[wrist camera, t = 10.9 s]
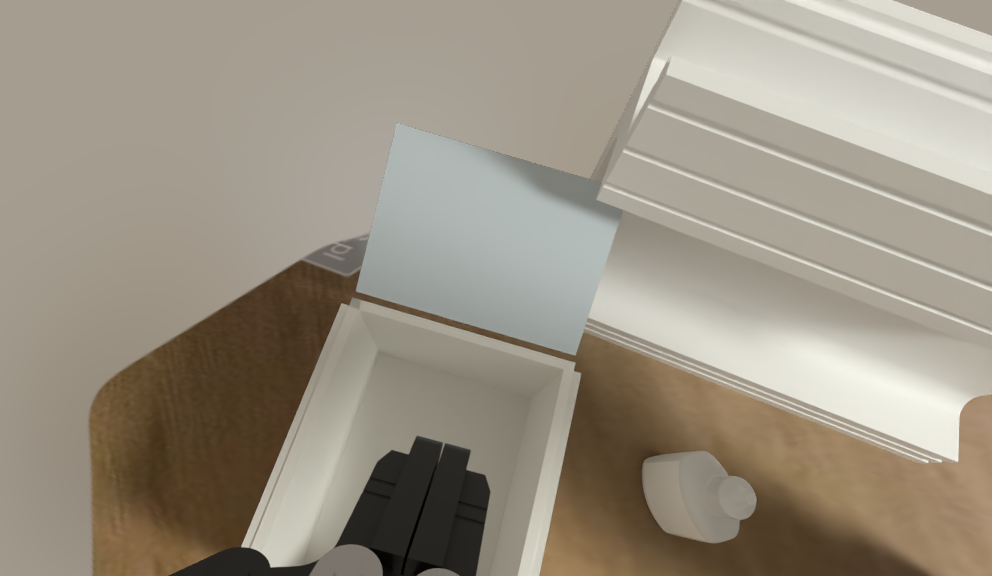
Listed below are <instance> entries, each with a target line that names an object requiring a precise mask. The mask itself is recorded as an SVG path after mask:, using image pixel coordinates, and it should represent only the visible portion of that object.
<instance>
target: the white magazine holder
mask: <svg viewBox="0 0 992 576" xmlns="http://www.w3.org/2000/svg"><path fill="white" fill-rule="evenodd" d="M590 180H594V181H597V182H601V183H602V184H601V187H600V190H599V193H598V196H597V198H596V200H598V201H601V202H603V203H606V204H609V205H611V206H614V207H617V208H619V209H622V210H623V212H622V215H621V218H620V221H619V224H618V227H617V230H616V233H615V236H614V239H613V243H612V246H611V249H610V252H609V255H608V258H607V261H606V264H605V267H604V270H603V273H602V276H601V279H600V282H599V285H598V288H597V291H596V295H595V298H594V301H593V304H592V307H591V310H590V313H589V316H588V319H587V322H586V325H585V328H584V331H583V332H585V333H588V334H591V335H593V336H596V337H598V338H601V339H603V340H606V341H608V342H611V343H613V344H616V345H619V346H621V347H624V348H626V349H629V350H631V351H634V352H636V353H639V354H642V355H644V356H647V357H649V358H652V359H654V360H657V361H659V362H662V363H664V364H667V365H670V366H672V367H675V368H677V369H680V370H682V371H685V372H687V373H690V374H693V375H695V376H698V377H700V378H703V379H705V380H708V381H710V382H713V383H715V384H718V385H721V386H723V387H726V388H728V389H731V390H733V391H736V392H738V393H741V394H744V395H746V396H749V397H751V398H754V399H756V400H759V401H761V402H764V403H767V404H769V405H772V406H774V407H777V408H779V409H782V410H784V411H787V412H789V413H792V414H795V415H797V416H800V417H802V418H805V419H807V420H810V421H812V422H815V423H818V424H820V425H823V426H825V427H828V428H830V429H833V430H835V431H838V432H840V433H843V434H846V435H848V436H851V437H853V438H856V439H858V440H861V441H863V442H866V443H869V444H871V445H874V446H876V447H879V448H881V449H884V450H886V451H889V452H891V453H894V454H897V455H899V456H902V457H904V458H907V459H909V460H912V461H914V462H917V463H928V461H930V462H933V463H942V460H943V461H945V462H958V445H959V416H960V412H961V410H962V408H963V407H964V405H965V404H966V403H967V402H968V401H970V400H971V399H973V398H975V397H978V396H983V395H990V394H992V36H990V35H987V34H985V33H982V32H979V31H976V30H974V29H971V28H968V27H965V26H962V25H960V24H957V23H954V22H951V21H948V20H946V19H943V18H940V17H937V16H934V15H932V14H929V13H926V12H923V11H921V10H918V9H915V8H912V7H909V6H906V5H903V4H901V3H898V2H895V1H893V0H679V1H678V3H677V5H676V7H675V9H674V11H673V13H672V15H671V17H670V19H669V21H668V23H667V25H666V27H665V29H664V31H663V33H662V35H661V37H660V39H659V41H658V43H657V45H656V47H655V49H654V51H653V54H652V55H651V57H650V59H649V61H648V63H647V65H646V68H645V69H644V71H643V73H642V75H641V77H640V79H639V81H638V83H637V85H636V87H635V89H634V91H633V94H632V95H631V97H630V99H629V102H628V103H627V105H626V107H625V109H624V112H623V114H622V116H621V118H620V119H619V121H618V124H617V125H616V127H615V130H614V132H613V133H612V135H611V138H610V140H609V142H608V144H607V146H606V148H605V150H604V152H603V154H602V156H601V158H600V160H599V162H598V164H597V166H596V168H595V170H594V172H593V174H592V176H591V178H590Z"/></svg>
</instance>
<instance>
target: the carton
mask: <svg viewBox="0 0 992 576" xmlns="http://www.w3.org/2000/svg"><path fill="white" fill-rule="evenodd" d="M574 368H575V362H571V361H568V360H564V359H561V358H558V357H554V356H551V355H547V354H544V353H541V352H537V351H534V350H530V349H527V348H523V347H520V346H517V345H513V344H510V343H506V342H503V341H500V340H496V339H493V338H489V337H486V336H482V335H479V334H476V333H472V332H469V331H465V330H462V329H458V328H455V327H452V326H448V325H445V324H441V323H438V322H435V321H431V320H428V319H424V318H421V317H417V316H414V315H411V314H407V313H404V312H400V311H397V310H394V309H390V308H387V307H383V306H380V305H376V304H373V303H370V302H366V301H363V300H359V299H356V298H352V300H351V302H350V304H349V305H346V304H343V303H341V306H340V308H339V311H338V313H337V316H336V318H335V320H334V323H333V325H332V328H331V330H330V333H329V335H328V337H327V340H326V342H325V345H324V347H323V349H322V352H321V354H320V357H319V359H318V362H317V364H316V366H315V369H314V371H313V374H312V376H311V379H310V381H309V383H308V386H307V388H306V391H305V393H304V396H303V398H302V400H301V403H300V405H299V408H298V410H297V413H296V415H295V417H294V420H293V422H292V425H291V427H290V430H289V432H288V434H287V437H286V439H285V442H284V444H283V446H282V449H281V451H280V454H279V456H278V459H277V461H276V463H275V466H274V468H273V471H272V473H271V476H270V478H269V480H268V483H267V485H266V488H265V490H264V493H263V495H262V497H261V500H260V502H259V505H258V507H257V510H256V512H255V514H254V517H253V519H252V522H251V524H250V527H249V529H248V531H247V534H246V536H245V539H244V541H243V543H242V546H241V547H246V548H252V549H255V550H257V551H259V552H261V553H262V554H263V555H264V556H265V557H266V558H267V559H268V561H269V563H270V567H290V566H302V565H306V564H310V563H312V562H315V561H317V560H319V559H320V558H321V557H322V556H323V555H324V554H325V553H327V552H328V551H329V550H331V549H333V548H334V547H335V545H336V544H337V542H338V540H339V538H340V536H341V534H342V532H343V530H344V528H345V526H346V524H347V522H348V520H349V518H350V516H351V514H352V512H353V510H354V508H355V506H356V504H357V502H358V500H359V498H360V496H361V494H362V493H363V490H364V488H365V486H366V484H367V482H368V480H369V478H370V475H371V473H372V471H373V469H374V467H375V465H376V463H377V461H378V460H380V459H381V458H382V457H383V456H385V455H386V454H387V453H389V452H390V451H391V450H394V451H398V452H402V453H405V454H409V453H410V450H411V448H412V445H413V443H414V441H415V438H416V436H421V437H425V438H428V439H432V440H436V441H440V442H443V446H442V450H441V454H442V451H443V448H444V445H445V443H447V444H451V445H455V446H459V447H462V448H466V449H470V450H471V453H470V457H469V461H468V465H467V469H466V470H469V471H472V472H476V473H480V474H483V475H486V479H487V482H488V485H489V488H490V498H489V504H488V509H487V515H486V521H485V527H484V532H483V538H482V544H481V550H480V555H479V561H478V567H477V573H476V576H539V573H540V568H541V564H542V559H543V554H544V549H545V545H546V540H547V535H548V530H549V526H550V521H551V516H552V511H553V506H554V502H555V497H556V492H557V487H558V483H559V478H560V473H561V468H562V464H563V459H564V454H565V449H566V444H567V440H568V435H569V430H570V425H571V421H572V416H573V411H574V406H575V402H576V397H577V392H578V387H579V382H580V378H581V373H579V372H575V371H574ZM440 457H441V455H440ZM439 460H440V459H439Z"/></svg>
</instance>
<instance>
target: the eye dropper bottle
mask: <svg viewBox="0 0 992 576" xmlns="http://www.w3.org/2000/svg"><path fill="white" fill-rule="evenodd" d="M642 485H643V491H644V495H645V499H646V502H647V505H648V507H649V509H650V511H651V513H652V515H653V517H654V519H655V520H656V522H657V523H658V525H659V526H660V527H661V528H662V530H664V531H665V532H666V533H668V534H672V535H676V536H681V537H685V538H689V539H693V540H697V541H702V542H707V543H720V542H724V541H727V540H730V539H733V538H734V537H736V536H737V534H738V531H739V525H740V520H743V519H746V518H749V516H751V515H752V513H753V512H754V510H755V508H756V501H757V498H756V496H755V492H754V490H753V488H752V487H751V486H750V484H749V483H748V482H747V481H745V480H744V479H743V478H741V477H737V476H728V474H727V472H726V471H725V469H724V468H723V467H722V465H721V464H720V463H719V462H718V461H717V459H716V458H715V457H714V456H713V455H712V454H710V453H709V452H707V451H690V452H680V453H670V454H662V455H658V456H654V457H650V458H647V459H646V460H645V461H644V463H643V466H642Z"/></svg>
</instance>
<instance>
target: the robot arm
mask: <svg viewBox="0 0 992 576" xmlns="http://www.w3.org/2000/svg"><path fill="white" fill-rule="evenodd" d="M442 446H443V442H440V441H436V440H432V439H428V438H425V437H421V436H416V438H415V441H414V443H413V445H412V448H411V450H410V453H409V454H405V453H402V452H398V451H394V450H391V451H390V452H389V453H387V454H386V455H385V456H383V457H382V458H381V459H380V460H378V461H377V463H376V465H375V467H374V469H373V471H372V473H371V475H370V478H369V480H368V482H367V484H366V486H365V488H364V490H363V493H362V494H361V496H360V498H359V500H358V502H357V504H356V506H355V508H354V510H353V512H352V514H351V516H350V518H349V520H348V522H347V524H346V526H345V528H344V530H343V532H342V534H341V536H340V538H339V540H338V542H337V544H336V545H335V547H334V548H333V549H331V550H329V551H328V552H327V553H325V554H324V555H323V556H322V557H321V558H320V559H319V560H317V561H315V562H312V563H310V564H306V565H302V566H290V567H270V563H269V561H268V559H267V558H266V557H265V556H264V555H263V554H262V553H261V552H259V551H257V550H255V549H252V548H246V547H237V548H231V549H227V550H224V551H221V552H219V553H216V554H214V555H212V556H210V557H208V558H206V559H204V560H201V561H199V562H197V563H195V564H193V565H191V566H188V567H186V568H184V569H182V570H180V571H178V572H176V573H173V574H171V575H169V576H476V573H477V567H478V561H479V555H480V550H481V544H482V538H483V532H484V527H485V521H486V515H487V509H488V504H489V498H490V488H489V485H488V482H487V479H486V475H483V474H480V473H476V472H472V471H469V470H466V469H467V465H468V461H469V457H470V453H471V450H470V449H466V448H462V447H459V446H455V445H451V444H447V443H445V445H444V448H443V451H442V454H441V450H442ZM440 455H441V457H440ZM439 459H440V460H439Z"/></svg>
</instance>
